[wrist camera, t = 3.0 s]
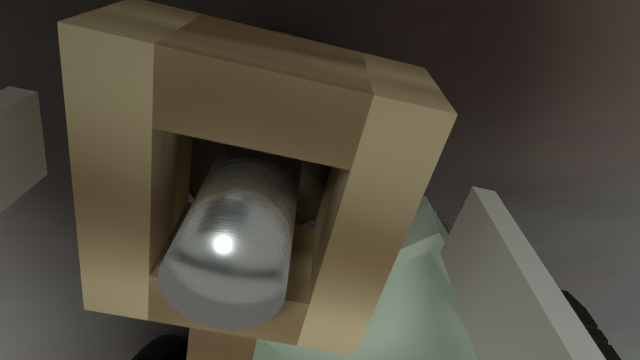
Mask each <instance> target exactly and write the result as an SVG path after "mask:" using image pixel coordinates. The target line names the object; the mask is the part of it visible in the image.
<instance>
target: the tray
mask: <svg viewBox="0 0 640 360" xmlns="http://www.w3.org/2000/svg"><path fill="white" fill-rule="evenodd" d="M448 235H449V234H448V233H447V231H446V229H445V228H444V226H443V224H442V223H441V221H440V219H439V217H438V216H437V214H436V212H435V211H434V209H433V207H432V206H431V204H430V202H429V200H428V199H427V197H426V196H424V197H422V200H421V202H420V204H419V207H418V209H417V211H416V214H415V216H414V218H413V221H412V223H411V225H410V228H409V230H408V232H407V235H406V237H405V239H404V242H403V244H402V246H401V249H400V251H399V253H398V256H397V258H396V260H395V263H394V265H393V267H392V270H391V272H390V274H389V277H388V279H387V281H386V284H385V286H384V288H383V291H382V293H381V295H380V298H379V300H378V303H377V305H376V307H375V310H374V312H373V314H372V317H371V319H370V321H369V324H368V326H367V328H366V331H365V333H364V335H363V338H362V340H361V342H360V345H359V347H358V349H357V352H356V354H355V355H349V354H343V353H337V352H331V351H325V350H319V349H313V348H307V347H302V346H296V345H290V344H284V343H278V342H272V341H266V340H260V339H257V342H256V346H255V351H254V355H253V359H252V360H478V359H477V356H476V354H475V351H474V348H473V345H472V342H471V339H470V336H469V334H468V331H467V328H466V325H465V322H464V319H463V317H462V314H461V311H460V308H459V305H458V302H457V299H456V297H455V294H454V291H453V288H452V285H451V282H450V280H449V277H448V274H447V271H446V268H445V265H444V262H443V260H442V257H441V254H440V252H441V250H442V248H443V245H444V243H445V241H446V239H447V237H448Z"/></svg>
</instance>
